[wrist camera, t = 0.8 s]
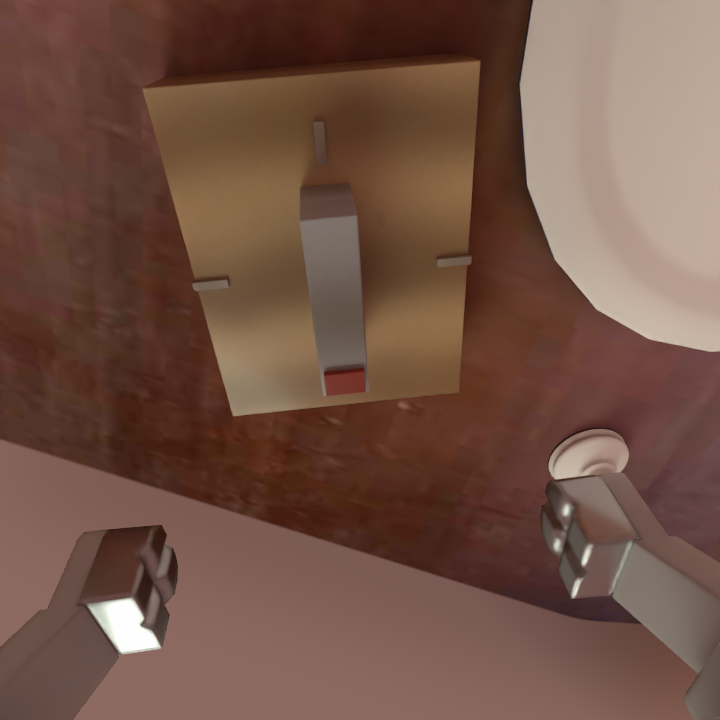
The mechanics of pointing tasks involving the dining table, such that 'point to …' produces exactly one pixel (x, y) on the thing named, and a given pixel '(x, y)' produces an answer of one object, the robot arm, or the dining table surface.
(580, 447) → the chess piece
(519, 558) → the dining table surface
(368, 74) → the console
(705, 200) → the plate
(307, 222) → the red-tipped grey block
